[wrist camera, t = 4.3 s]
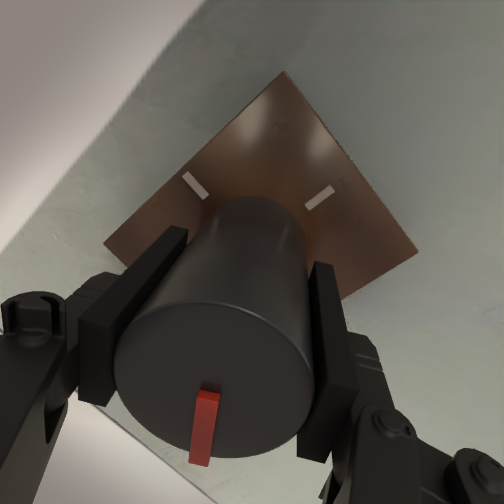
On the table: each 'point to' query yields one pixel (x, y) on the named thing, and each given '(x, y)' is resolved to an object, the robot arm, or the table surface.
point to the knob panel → (279, 190)
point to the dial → (225, 338)
